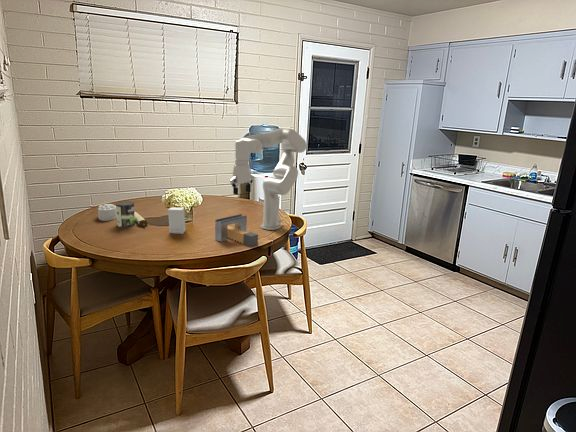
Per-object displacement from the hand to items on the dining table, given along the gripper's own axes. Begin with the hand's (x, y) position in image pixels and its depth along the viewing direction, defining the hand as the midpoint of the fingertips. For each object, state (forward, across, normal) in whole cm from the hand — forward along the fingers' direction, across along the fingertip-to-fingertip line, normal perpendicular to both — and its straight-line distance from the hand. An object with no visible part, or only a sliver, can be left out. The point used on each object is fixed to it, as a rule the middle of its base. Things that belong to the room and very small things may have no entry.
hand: (242, 193), depth 221 cm
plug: (+26, +5, +2) cm, 27 cm away
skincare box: (+26, +22, -31) cm, 46 cm away
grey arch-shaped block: (+26, +5, -4) cm, 27 cm away
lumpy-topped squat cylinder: (+26, +37, -84) cm, 96 cm away
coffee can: (+26, +37, -62) cm, 77 cm away
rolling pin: (+26, +28, -65) cm, 75 cm away
